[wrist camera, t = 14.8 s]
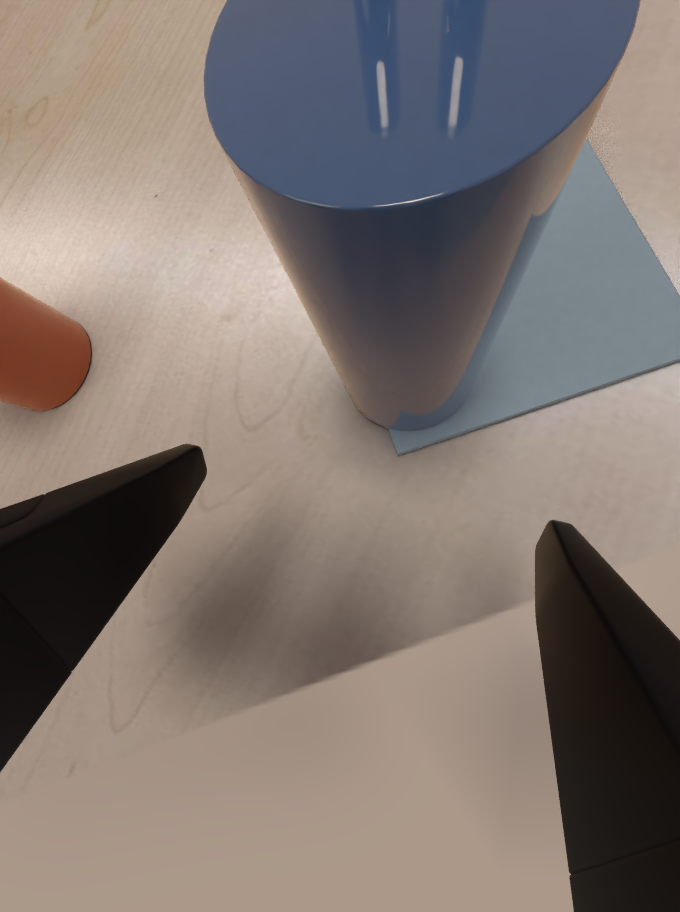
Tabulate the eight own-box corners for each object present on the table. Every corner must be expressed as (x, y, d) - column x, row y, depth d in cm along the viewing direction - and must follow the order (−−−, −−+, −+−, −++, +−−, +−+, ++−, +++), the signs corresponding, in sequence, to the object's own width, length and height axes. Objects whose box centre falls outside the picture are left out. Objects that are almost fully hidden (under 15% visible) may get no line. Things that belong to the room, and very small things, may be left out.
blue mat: (700, 354, 16) (711, 348, 16) (398, 456, 18) (397, 454, 17) (535, 70, 20) (538, 57, 19) (301, 178, 22) (297, 169, 21)
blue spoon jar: (464, 441, 17) (1066, -474, 1) (332, 419, 18) (-124, -144, 3) (487, 315, 18) (1028, -1189, 2) (359, 303, 19) (124, -643, 4)
